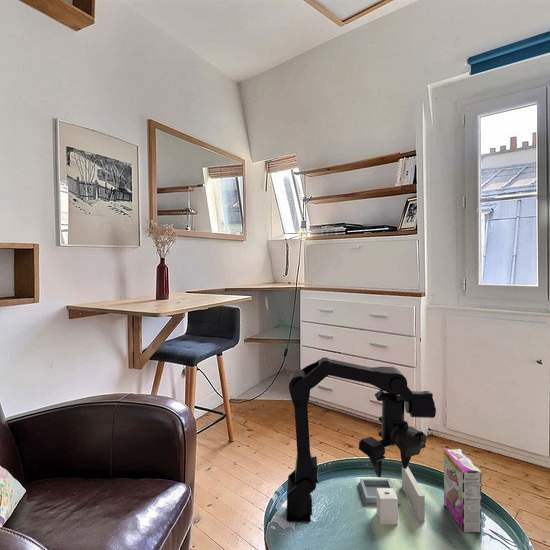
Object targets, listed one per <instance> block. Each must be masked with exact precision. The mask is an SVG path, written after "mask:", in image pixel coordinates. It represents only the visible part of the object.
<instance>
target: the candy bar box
mask: <svg viewBox="0 0 550 550" xmlns="http://www.w3.org/2000/svg"><path fill="white" fill-rule="evenodd" d="M443 504H444V507H445V508H446V509H447V510H448V512H449V514H450V515H451V516H452V518H453V519H454V521H455V522H456V524H457V525H458V526H459V528H460V530H461V531H462V532H463V533H465V534H467V533H468V534H469V533H470V534H471V533H472V534H473V533H482V470H481V469H480V468H479V467H478V466H476V464H475V463H474V462H473V461H472V459H470V458H469V457H468V456H467V455H466V454H465V453H464V451H462V449H461V448H450V449H449V448H445V449H443Z"/></svg>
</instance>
